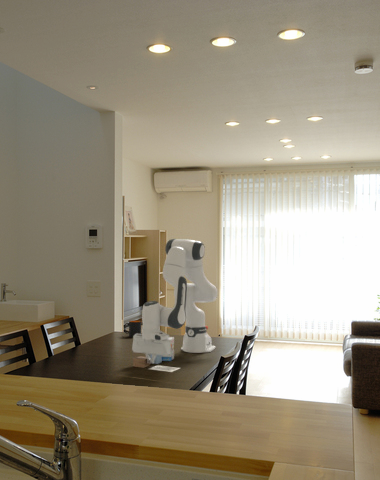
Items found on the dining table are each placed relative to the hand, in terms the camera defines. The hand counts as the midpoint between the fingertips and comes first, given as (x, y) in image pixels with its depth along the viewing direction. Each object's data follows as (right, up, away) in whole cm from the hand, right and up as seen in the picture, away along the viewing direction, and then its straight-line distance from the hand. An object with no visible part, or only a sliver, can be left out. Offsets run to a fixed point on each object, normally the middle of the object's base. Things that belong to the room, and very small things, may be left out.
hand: (150, 362), depth 237 cm
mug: (-20, -6, +93) cm, 95 cm away
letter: (+7, -2, -4) cm, 8 cm away
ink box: (+6, -3, +18) cm, 19 cm away
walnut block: (-5, -2, +2) cm, 5 cm away
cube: (+1, -2, +9) cm, 9 cm away
